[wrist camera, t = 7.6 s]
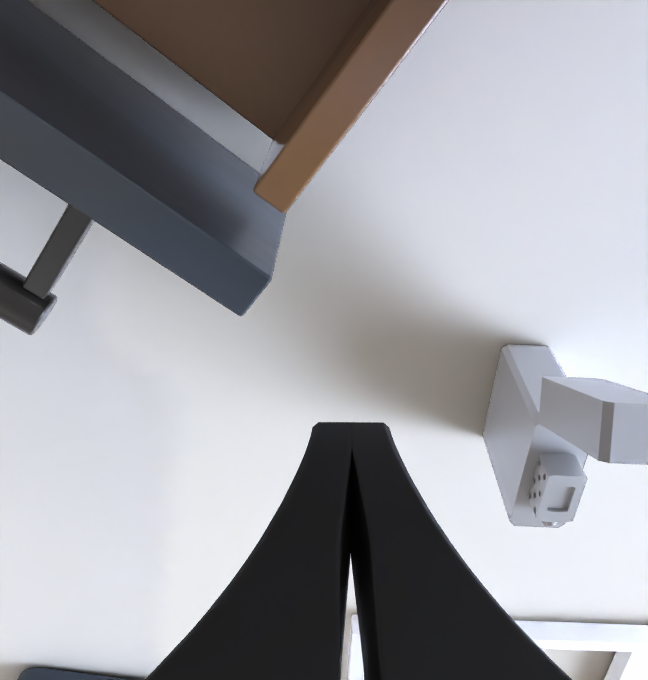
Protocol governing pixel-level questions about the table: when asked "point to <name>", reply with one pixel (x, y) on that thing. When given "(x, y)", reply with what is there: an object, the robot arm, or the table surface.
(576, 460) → the lighter
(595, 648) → the photo frame
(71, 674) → the smartphone
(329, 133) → the drawer
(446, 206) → the table surface
